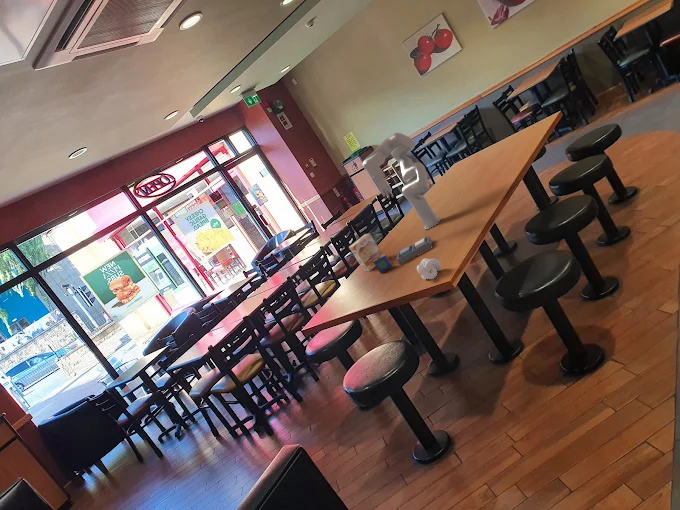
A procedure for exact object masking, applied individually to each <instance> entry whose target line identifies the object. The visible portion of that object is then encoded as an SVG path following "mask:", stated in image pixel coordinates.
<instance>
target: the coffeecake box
mask: <svg viewBox="0 0 680 510" xmlns="http://www.w3.org/2000/svg"><path fill="white" fill-rule="evenodd" d="M348 248H349V250H350V252H351V253H352V254H353V256H354V258H355V259H356V261H357V262H358V264H359V265H360V267H361V268H362V270H363V272H370V271H372V270H373V269H374V268H375V267H376V266H375V264H374V263H373V261H374V260H375V259H377V256H378V255H379V257H381V256H383V255H384V253H383V252H382V250H381V249H380V247H379V246H378V244H377V243H376V241H375V240H374V238H373V237H372V235H371V234H370V233H365V234H363V235H362V236H361V237H360V238H358V239H357V240H356V241H354V243H352V244H350V245H349V246H348Z"/></svg>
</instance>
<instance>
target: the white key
mask: <svg viewBox="0 0 680 510" xmlns="http://www.w3.org/2000/svg"><path fill="white" fill-rule="evenodd" d="M424 238H425V237H423V238H421V239H420V240H418V241H416V242H414V244H415V248H418V247H420V246H422V245H423V244H425V243H427V242H426V240H425V239H424Z"/></svg>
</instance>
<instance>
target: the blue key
mask: <svg viewBox="0 0 680 510" xmlns="http://www.w3.org/2000/svg"><path fill="white" fill-rule="evenodd" d="M410 246H411V245H409V246H407V247H404V248H403V249H401V250H400V251H399V252H400V255H401V257H402V256H403V255H405V254H407V253H409V252H411V251H412V249H411V248H410Z"/></svg>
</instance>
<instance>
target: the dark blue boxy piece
mask: <svg viewBox="0 0 680 510" xmlns="http://www.w3.org/2000/svg"><path fill="white" fill-rule="evenodd" d="M373 263H374V264H375V267H376V269H377V270H378V272H379V273H380V274H381V275H382V274H384V273H387V272H388V271H390V270H391V269H392V268H393V269H394V265H393V263H392V262H391V260H390V259H389V256H387V254H383V256H381V257H379V255H378V256H377V259H375V260H374V261H373Z"/></svg>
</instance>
